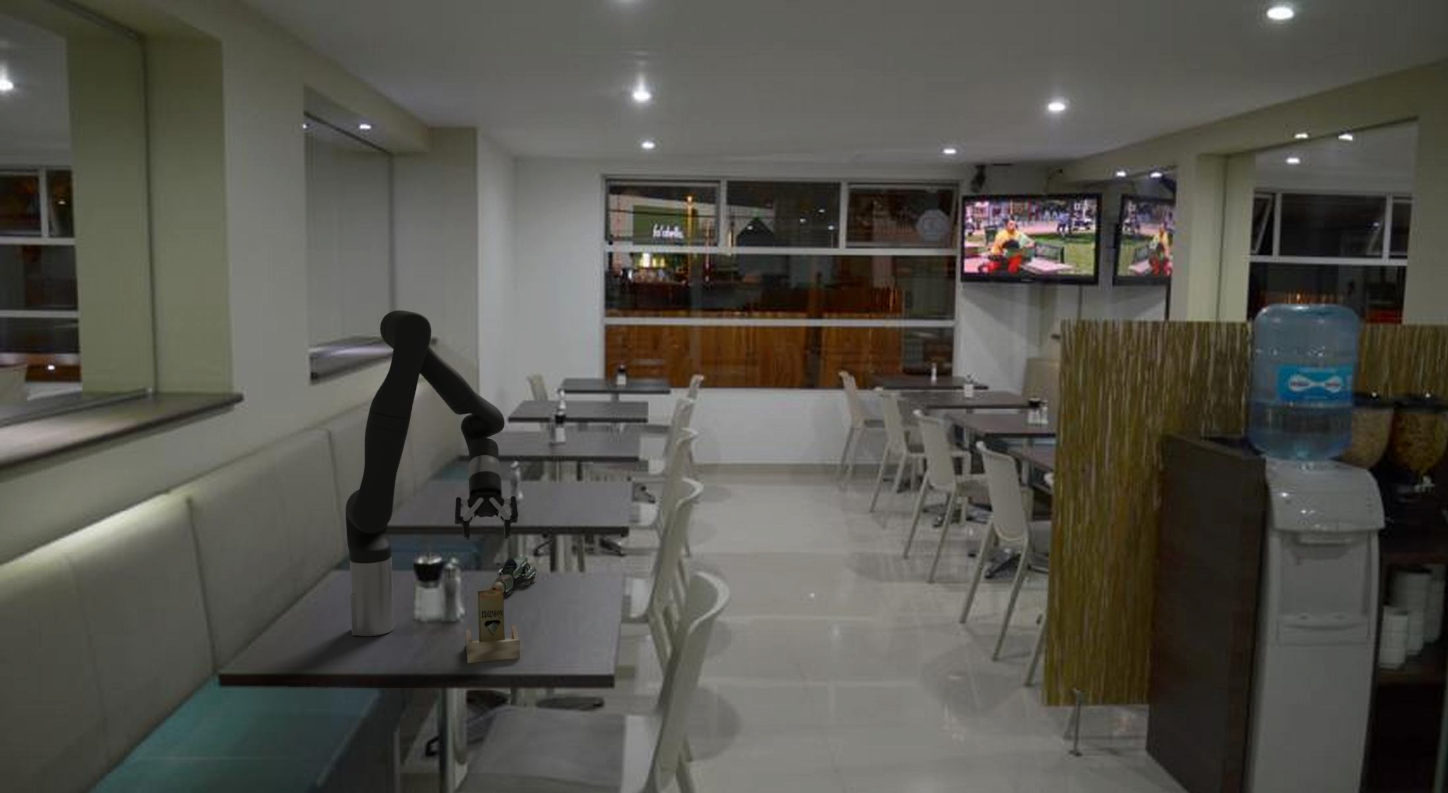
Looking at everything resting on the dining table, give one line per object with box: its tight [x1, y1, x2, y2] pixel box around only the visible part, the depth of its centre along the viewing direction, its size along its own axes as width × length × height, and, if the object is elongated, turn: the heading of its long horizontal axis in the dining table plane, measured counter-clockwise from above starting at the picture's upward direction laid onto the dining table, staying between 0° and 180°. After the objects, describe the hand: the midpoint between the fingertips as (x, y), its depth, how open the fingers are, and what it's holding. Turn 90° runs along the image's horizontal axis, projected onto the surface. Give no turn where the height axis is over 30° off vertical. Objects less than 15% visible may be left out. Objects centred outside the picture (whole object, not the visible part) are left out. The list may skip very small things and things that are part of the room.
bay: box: [465, 625, 521, 664], centre depth 233 cm, size 11×11×4 cm
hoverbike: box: [489, 554, 538, 597], centre depth 279 cm, size 10×25×8 cm, turn 173°
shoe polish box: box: [477, 589, 506, 642], centre depth 232 cm, size 5×5×12 cm
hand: (487, 537), depth 242 cm, fingers open, 8 cm apart
